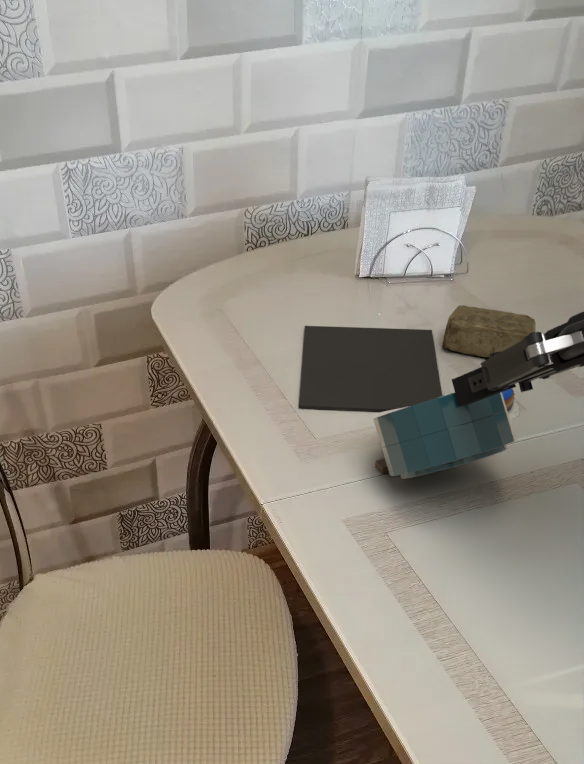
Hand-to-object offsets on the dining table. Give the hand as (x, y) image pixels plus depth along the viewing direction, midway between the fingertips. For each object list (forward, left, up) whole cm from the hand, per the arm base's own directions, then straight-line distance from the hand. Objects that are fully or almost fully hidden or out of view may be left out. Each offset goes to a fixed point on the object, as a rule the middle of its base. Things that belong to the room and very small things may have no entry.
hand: (460, 392), depth 77 cm
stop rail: (+1, -7, -14) cm, 16 cm away
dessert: (-7, -18, -15) cm, 24 cm away
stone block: (-9, -32, -15) cm, 37 cm away
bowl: (-1, -1, -10) cm, 10 cm away
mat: (+7, -27, -14) cm, 31 cm away
